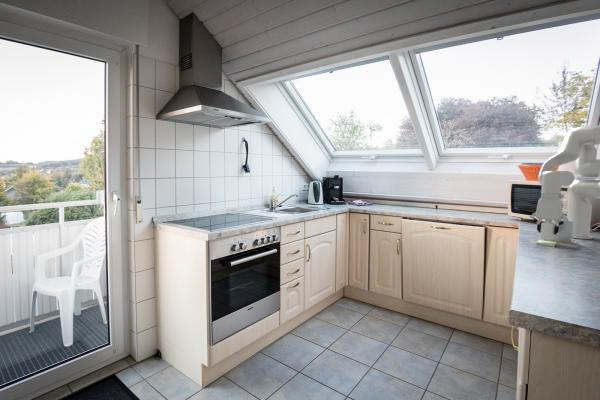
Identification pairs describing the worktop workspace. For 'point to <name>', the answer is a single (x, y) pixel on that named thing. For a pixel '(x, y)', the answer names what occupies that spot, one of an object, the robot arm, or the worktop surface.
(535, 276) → the worktop surface
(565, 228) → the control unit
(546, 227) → the eye dropper bottle
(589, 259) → the worktop surface
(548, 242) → the sage pad
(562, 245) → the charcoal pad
